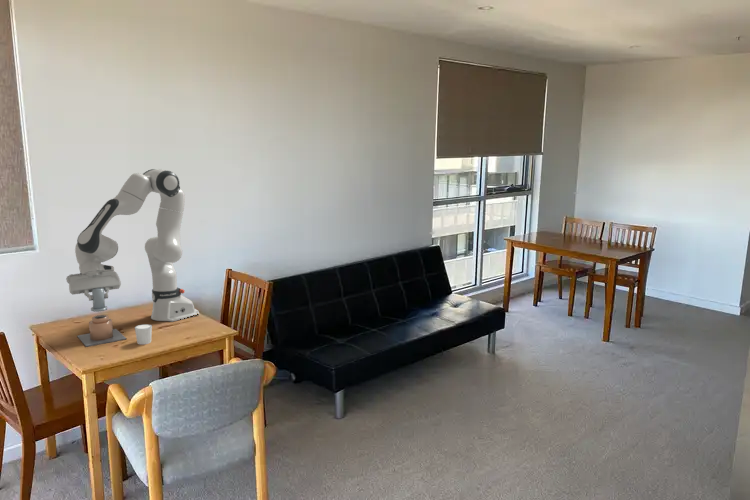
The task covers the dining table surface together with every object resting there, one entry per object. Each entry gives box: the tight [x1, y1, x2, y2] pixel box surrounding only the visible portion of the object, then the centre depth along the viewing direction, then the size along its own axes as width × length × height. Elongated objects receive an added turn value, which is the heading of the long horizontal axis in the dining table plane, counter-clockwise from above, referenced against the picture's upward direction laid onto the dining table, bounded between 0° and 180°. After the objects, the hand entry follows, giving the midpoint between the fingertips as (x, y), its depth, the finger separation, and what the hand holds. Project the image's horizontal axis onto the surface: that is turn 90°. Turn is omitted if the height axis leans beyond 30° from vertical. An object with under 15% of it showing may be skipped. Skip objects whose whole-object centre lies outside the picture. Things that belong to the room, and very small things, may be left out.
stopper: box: [90, 288, 108, 313], centre depth 245 cm, size 6×6×9 cm
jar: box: [76, 314, 127, 348], centre depth 247 cm, size 16×16×10 cm
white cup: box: [134, 324, 153, 346], centre depth 243 cm, size 7×7×7 cm
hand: (98, 298), depth 244 cm, fingers closed on stopper, 5 cm apart
